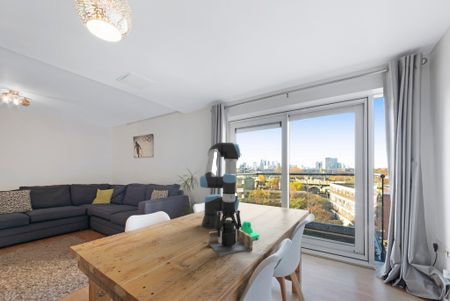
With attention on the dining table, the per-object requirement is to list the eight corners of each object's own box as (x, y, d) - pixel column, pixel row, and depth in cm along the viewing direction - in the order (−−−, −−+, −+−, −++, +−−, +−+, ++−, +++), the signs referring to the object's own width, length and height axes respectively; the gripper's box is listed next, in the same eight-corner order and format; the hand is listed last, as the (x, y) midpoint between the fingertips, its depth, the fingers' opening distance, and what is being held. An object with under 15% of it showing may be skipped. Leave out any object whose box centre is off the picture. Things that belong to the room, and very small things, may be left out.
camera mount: (246, 242, 121) (246, 225, 122) (238, 238, 127) (238, 222, 128) (259, 238, 129) (260, 222, 130) (251, 235, 135) (251, 219, 136)
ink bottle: (237, 241, 116) (237, 220, 117) (235, 247, 107) (235, 224, 108) (220, 239, 117) (221, 218, 118) (217, 245, 109) (218, 223, 110)
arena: (208, 244, 117) (209, 232, 117) (238, 239, 125) (238, 228, 126) (219, 255, 102) (219, 241, 103) (252, 249, 111) (252, 236, 111)
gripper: (213, 203, 106) (212, 246, 104) (248, 201, 115) (247, 241, 114) (208, 200, 113) (207, 241, 111) (241, 199, 122) (241, 236, 120)
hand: (227, 241), depth 112 cm, fingers closed on ink bottle, 9 cm apart
